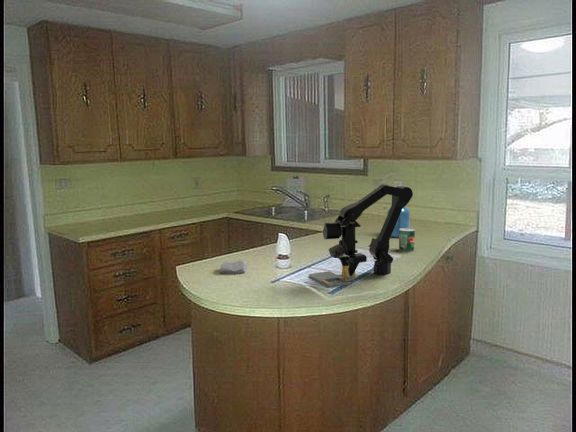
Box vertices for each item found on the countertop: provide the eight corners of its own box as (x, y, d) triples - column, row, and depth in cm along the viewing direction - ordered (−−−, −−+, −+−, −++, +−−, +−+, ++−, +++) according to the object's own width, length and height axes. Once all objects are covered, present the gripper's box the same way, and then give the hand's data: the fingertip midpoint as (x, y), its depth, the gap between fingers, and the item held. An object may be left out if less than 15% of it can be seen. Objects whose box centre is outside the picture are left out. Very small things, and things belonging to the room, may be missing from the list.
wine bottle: (412, 238, 274) (413, 186, 269) (389, 238, 274) (389, 186, 269) (406, 233, 287) (407, 184, 283) (384, 233, 288) (385, 184, 283)
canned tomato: (414, 252, 240) (415, 230, 238) (399, 251, 241) (399, 230, 239) (414, 248, 247) (414, 228, 245) (398, 248, 249) (398, 227, 247)
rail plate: (329, 275, 201) (329, 270, 200) (350, 286, 186) (350, 281, 185) (308, 278, 197) (308, 273, 196) (328, 290, 181) (328, 284, 181)
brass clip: (350, 274, 199) (350, 264, 198) (355, 276, 195) (355, 267, 195) (341, 275, 197) (341, 266, 197) (346, 277, 194) (346, 268, 193)
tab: (350, 275, 201) (350, 272, 201) (359, 279, 195) (359, 277, 194) (337, 277, 198) (337, 274, 198) (346, 281, 192) (346, 279, 192)
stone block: (246, 278, 207) (247, 267, 216) (245, 268, 205) (246, 258, 214) (219, 279, 207) (221, 269, 216) (218, 269, 205) (220, 259, 214)
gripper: (320, 235, 199) (320, 271, 201) (343, 244, 182) (343, 283, 185) (343, 233, 204) (343, 268, 206) (367, 241, 187) (367, 279, 189)
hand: (348, 274), depth 196 cm, fingers closed on brass clip, 4 cm apart
